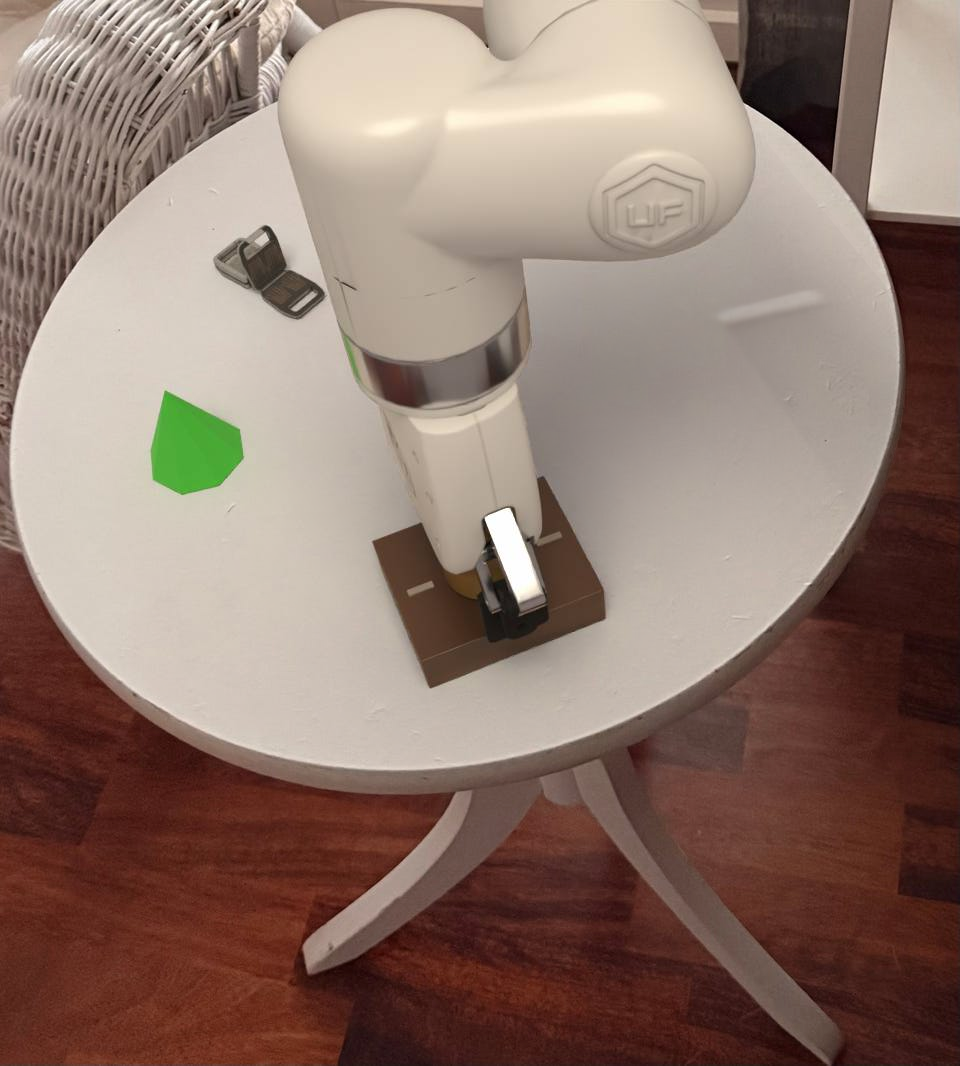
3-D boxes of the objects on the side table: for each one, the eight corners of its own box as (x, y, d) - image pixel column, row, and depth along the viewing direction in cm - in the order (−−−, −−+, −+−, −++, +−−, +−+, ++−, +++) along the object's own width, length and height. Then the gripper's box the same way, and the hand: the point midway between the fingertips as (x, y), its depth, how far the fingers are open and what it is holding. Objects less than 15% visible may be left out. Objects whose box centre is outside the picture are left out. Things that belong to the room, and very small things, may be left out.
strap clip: (211, 269, 84) (192, 221, 81) (244, 243, 85) (226, 194, 82) (296, 323, 80) (280, 276, 77) (329, 295, 81) (314, 247, 78)
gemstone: (262, 459, 74) (235, 394, 69) (175, 511, 73) (140, 449, 68) (217, 399, 77) (187, 333, 73) (131, 448, 76) (95, 384, 71)
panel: (545, 502, 70) (541, 469, 68) (608, 623, 66) (606, 592, 63) (380, 566, 69) (369, 534, 67) (431, 693, 65) (422, 665, 62)
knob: (426, 572, 65) (411, 520, 61) (479, 515, 67) (468, 461, 63) (490, 615, 63) (480, 565, 59) (544, 556, 65) (537, 503, 61)
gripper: (289, 220, 54) (364, 457, 68) (417, 518, 45) (474, 721, 59) (450, 165, 55) (491, 410, 69) (609, 445, 46) (619, 664, 60)
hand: (483, 553), depth 64 cm, fingers open, 9 cm apart
